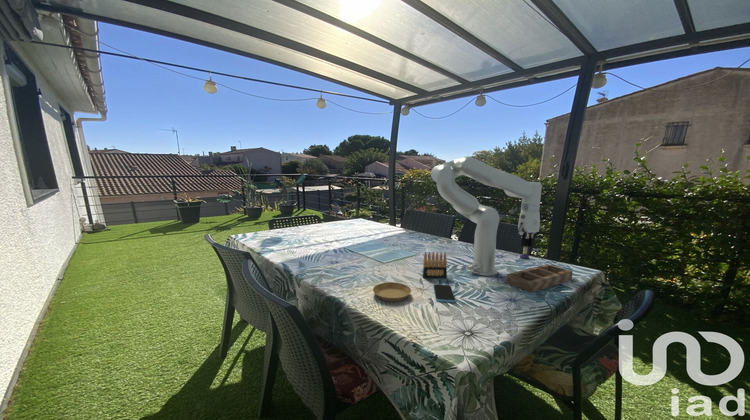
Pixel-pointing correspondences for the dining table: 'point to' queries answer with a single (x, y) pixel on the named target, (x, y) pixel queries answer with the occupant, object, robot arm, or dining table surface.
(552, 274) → the tray
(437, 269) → the ammunition clip
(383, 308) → the dining table surface
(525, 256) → the toy lamp
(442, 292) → the smartphone
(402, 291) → the plant saucer
